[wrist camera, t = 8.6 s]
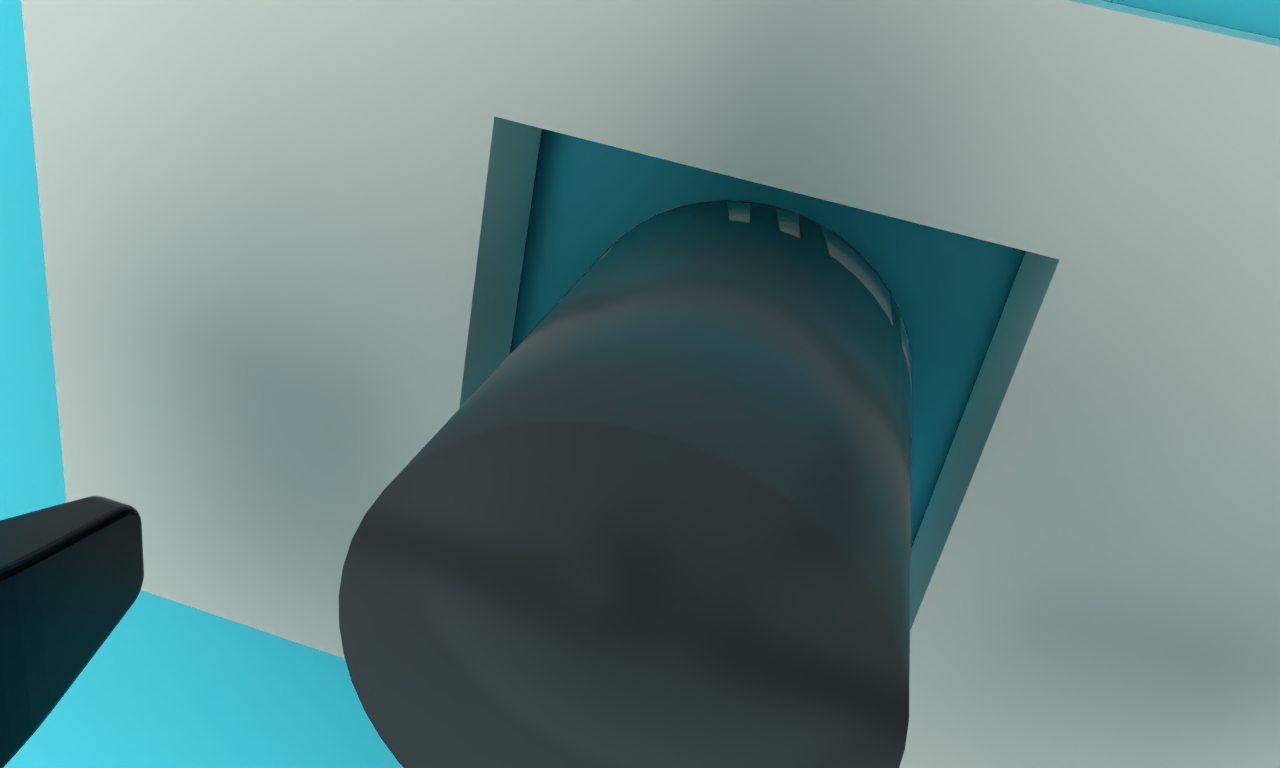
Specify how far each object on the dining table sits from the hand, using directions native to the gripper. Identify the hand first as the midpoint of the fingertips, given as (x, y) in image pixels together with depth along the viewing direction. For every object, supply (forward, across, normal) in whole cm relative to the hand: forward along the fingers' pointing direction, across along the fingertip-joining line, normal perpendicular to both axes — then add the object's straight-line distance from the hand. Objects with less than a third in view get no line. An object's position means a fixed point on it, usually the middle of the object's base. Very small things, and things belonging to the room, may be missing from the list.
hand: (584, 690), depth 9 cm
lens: (+7, 0, 0) cm, 7 cm away
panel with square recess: (+7, 0, 0) cm, 7 cm away
